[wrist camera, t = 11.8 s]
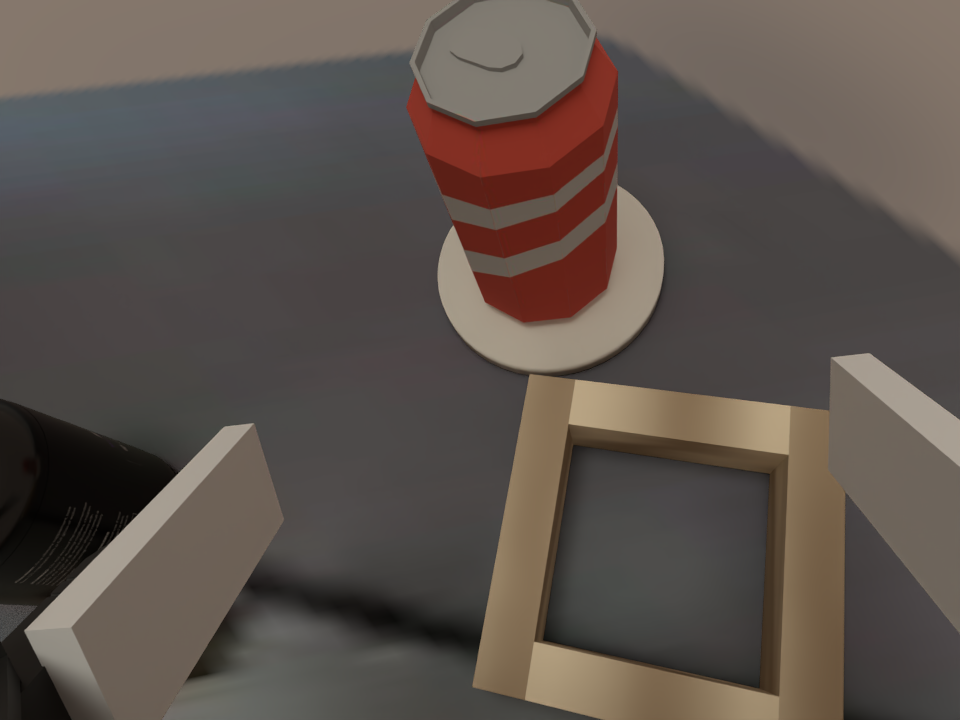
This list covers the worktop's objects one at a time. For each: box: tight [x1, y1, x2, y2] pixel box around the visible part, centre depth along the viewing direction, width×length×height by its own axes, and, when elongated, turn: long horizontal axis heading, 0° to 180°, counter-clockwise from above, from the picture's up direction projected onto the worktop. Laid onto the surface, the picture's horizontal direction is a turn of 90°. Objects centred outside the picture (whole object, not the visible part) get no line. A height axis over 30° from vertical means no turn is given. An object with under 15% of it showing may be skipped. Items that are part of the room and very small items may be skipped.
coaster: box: [438, 185, 664, 376], centre depth 29 cm, size 10×10×1 cm
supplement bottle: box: [0, 399, 176, 606], centre depth 24 cm, size 7×7×12 cm
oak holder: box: [472, 374, 845, 720], centre depth 23 cm, size 11×11×3 cm
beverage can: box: [407, 0, 618, 323], centre depth 24 cm, size 6×6×12 cm
